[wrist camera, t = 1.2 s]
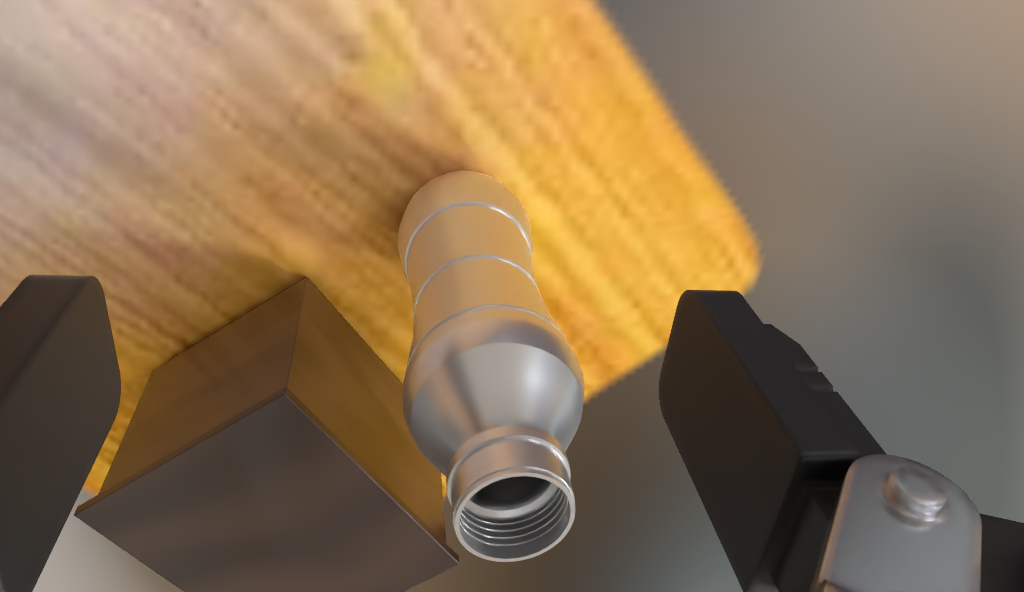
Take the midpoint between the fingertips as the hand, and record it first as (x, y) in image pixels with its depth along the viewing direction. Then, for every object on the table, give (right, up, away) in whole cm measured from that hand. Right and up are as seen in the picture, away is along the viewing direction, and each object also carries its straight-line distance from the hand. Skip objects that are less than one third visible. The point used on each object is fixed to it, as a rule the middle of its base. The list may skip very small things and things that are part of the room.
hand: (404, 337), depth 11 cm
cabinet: (-10, -5, +32) cm, 34 cm away
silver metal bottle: (-1, +5, +28) cm, 28 cm away
